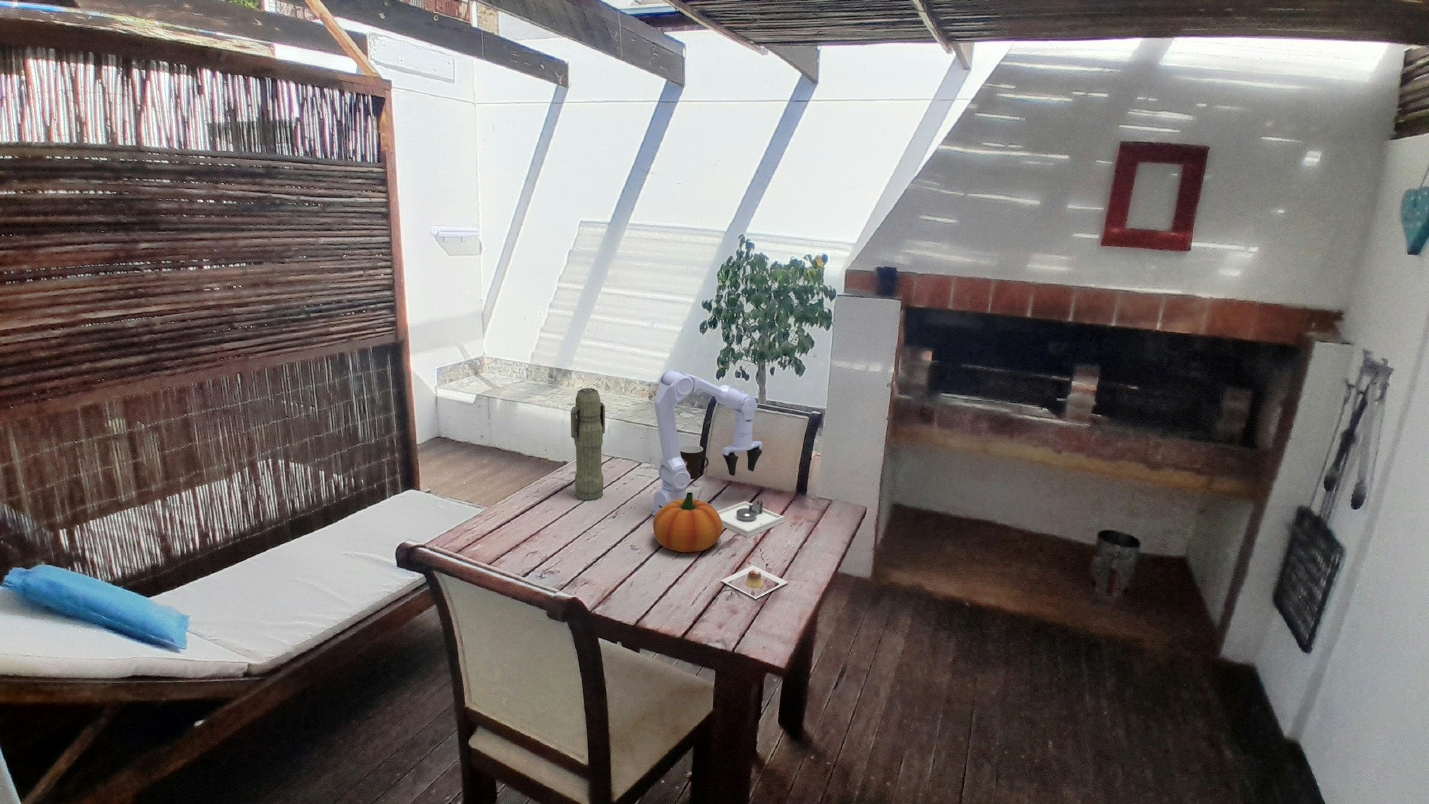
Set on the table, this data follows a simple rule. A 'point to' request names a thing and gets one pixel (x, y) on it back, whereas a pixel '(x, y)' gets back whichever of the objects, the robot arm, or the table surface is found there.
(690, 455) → the coffee mug
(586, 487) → the green carved statue
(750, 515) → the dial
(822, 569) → the table surface
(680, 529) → the pumpkin
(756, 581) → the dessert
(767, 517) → the board
